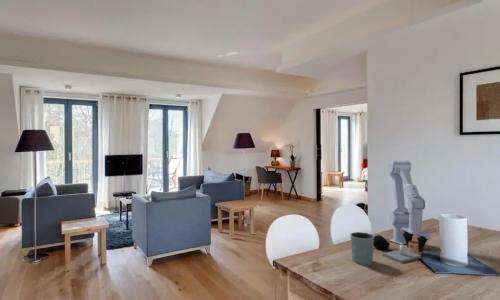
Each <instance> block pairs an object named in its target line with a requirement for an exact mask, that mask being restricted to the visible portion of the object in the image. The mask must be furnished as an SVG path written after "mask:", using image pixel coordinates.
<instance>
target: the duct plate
mask: <svg viewBox="0 0 500 300" xmlns="http://www.w3.org/2000/svg"><path fill="white" fill-rule="evenodd" d="M382 257H384V258H387V259H390V260H392V261H395V262H398V263H400V264H404V263H408V262H411V261H415V260H419V259H421V258H422V254H416V253H413V252H410V251H408V250H407V249H405V244H403V245H401V244H399V249H397V250H395V251H391V250H390V251H388V252H383V253H382ZM420 257H421V258H420Z"/></svg>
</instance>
